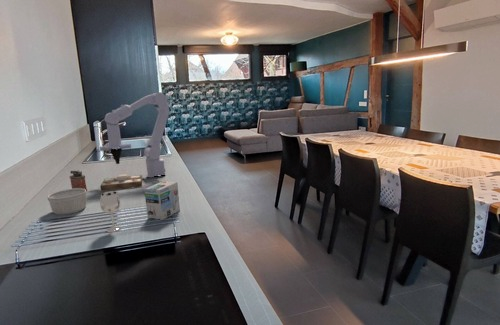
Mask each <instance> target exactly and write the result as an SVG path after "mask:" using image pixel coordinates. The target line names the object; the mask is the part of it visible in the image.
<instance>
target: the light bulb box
mask: <svg viewBox="0 0 500 325" xmlns="http://www.w3.org/2000/svg"><path fill="white" fill-rule="evenodd" d="M143 190H144V191H143V192H144V198H145V206H146V207H145V208H146V216H147V219H150V218H155V219H154V220H158V219H160V220H161V221H164V220H166V219H168V218H169V217H171V216H172V214H173V215H174V213H175V214H176V213H178V212H180V211H181V209H180V208H181V206H180V205H181V204H180V197H179V186H178V182H175V181H165V180H164V181H161V182H158V183H155V184H152V185H150V186H148V187H145V188H143ZM170 215H171V216H170ZM168 216H169V217H168ZM163 219H164V220H163Z"/></svg>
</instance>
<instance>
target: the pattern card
mask: <svg viewBox="0 0 500 325" xmlns="http://www.w3.org/2000/svg"><path fill="white" fill-rule="evenodd" d="M137 181H140V179H134V180H126V181H117V182H107V183H103V182H102V183H103V184H102V183H101V184H102V185H111V184H120V183H128V182H137Z"/></svg>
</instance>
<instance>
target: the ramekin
mask: <svg viewBox="0 0 500 325" xmlns="http://www.w3.org/2000/svg"><path fill="white" fill-rule="evenodd" d="M87 192H88V191H87ZM87 192H86V190H85V189H82V188H75V189H72V188H68V189H61V190H59V191H58V190H57V191H54V192H52V193H50V194H48V195H47V201H48V202H49V206H50V208H51V211H52V213H53V214H55V215H59V216H60V215H61V216H62V215H71V214H75V213H78V212H79V213H80V211H83V210H84V209H85V208H86V207H87V194H88V193H87Z"/></svg>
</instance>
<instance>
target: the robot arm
mask: <svg viewBox="0 0 500 325" xmlns="http://www.w3.org/2000/svg"><path fill="white" fill-rule="evenodd" d="M168 102H169V100H168V98H167V96H166V94H165V93H162V92H154V93H153V92H152V93H151V94H148V95H146V96H145V95H144V96H143V97H141V98H140V99H138V100H137V101H135V102H133V103H131V104H130V105H129V104H121V105H120V106H119V107H118V108H116V109H112V110H111V112H108V113H106V114H105V116H104V122H105V123H106V130H107V139H108V145H105V146H104V145H103V146H100V147H99V151H100V152H104V151H109V152H110V154H111V155H112V157H113V159H114V162H115V164H116V165H119V164H120V158H121V154H122V151H123V150H125V149H132V144H130V143H129V144H126V143H125V144H122V138H121V130H120V126H119V123H120V122H121V121H123V120H125V119H126V118H128V117H130V116H132V115H133V112H134V111H136V110H137V109H140V108H142V107H144V106H146V105H153V107H155V108H156V110H157V112H158V114H157V117H156V119H155V120H156V121H155V124H154V127H153V130H152V134H151V137H150V141H149V142H148V143H147V146H145V148H144V150H143V155H144V157H145V164H146V172H147V174H146V178H147V177H150V178H155V177H154V176H158V175H165V176H166V168H165V162H164V161H165V160H164V158H160V157H161V147H162V146H161V141H162V138H163V134H164V130H165V128H166V124H167V121H168V117H169V114H170V107H169V103H168Z"/></svg>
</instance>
